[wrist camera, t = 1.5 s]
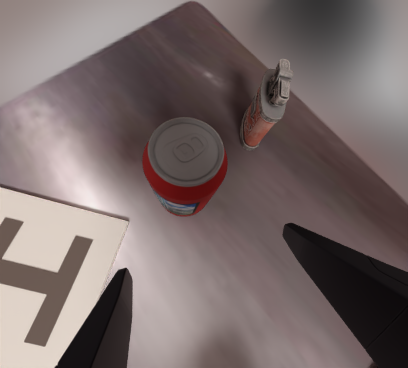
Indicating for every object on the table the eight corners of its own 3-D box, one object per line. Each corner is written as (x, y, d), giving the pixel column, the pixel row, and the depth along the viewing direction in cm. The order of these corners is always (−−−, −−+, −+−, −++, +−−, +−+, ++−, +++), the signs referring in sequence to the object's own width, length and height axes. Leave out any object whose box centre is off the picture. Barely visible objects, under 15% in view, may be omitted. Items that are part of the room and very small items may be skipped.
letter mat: (63, 390, 16) (59, 395, 15) (-116, 351, 15) (-126, 355, 14) (129, 221, 21) (128, 221, 20) (-1, 187, 20) (-5, 186, 20)
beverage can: (148, 188, 22) (116, 138, 11) (187, 161, 24) (193, 95, 13) (179, 228, 21) (178, 217, 10) (218, 196, 23) (252, 157, 12)
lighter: (243, 108, 29) (273, 45, 20) (261, 112, 29) (300, 52, 20) (238, 147, 26) (269, 97, 17) (258, 152, 27) (301, 105, 17)
